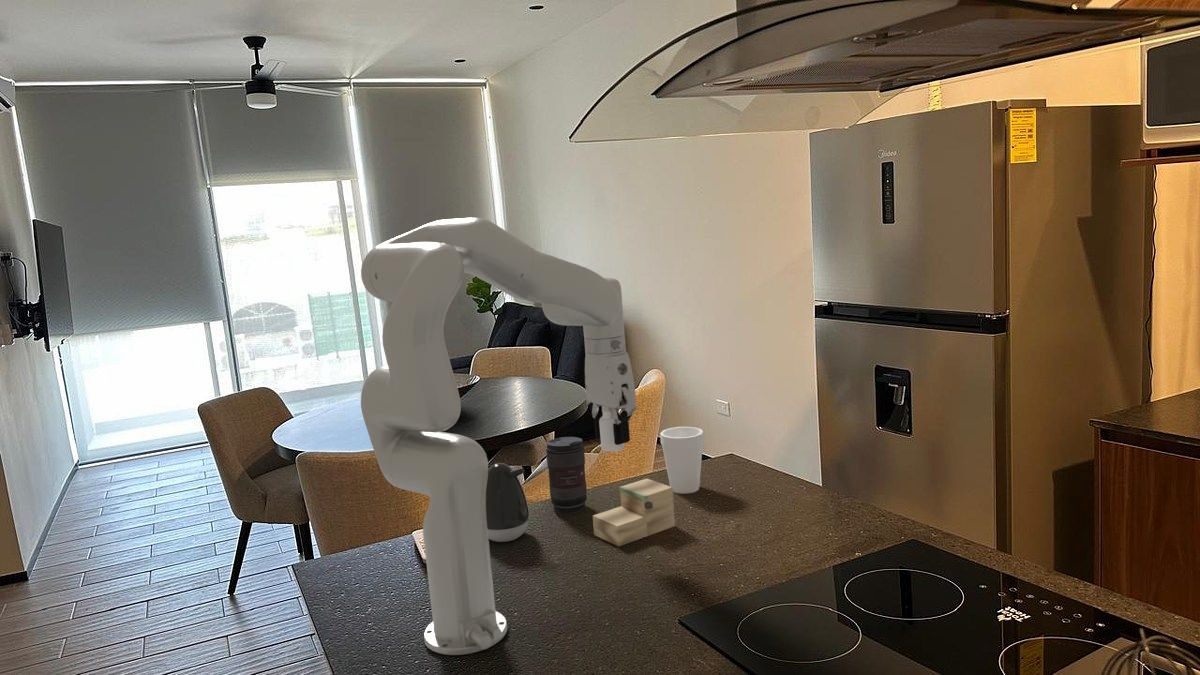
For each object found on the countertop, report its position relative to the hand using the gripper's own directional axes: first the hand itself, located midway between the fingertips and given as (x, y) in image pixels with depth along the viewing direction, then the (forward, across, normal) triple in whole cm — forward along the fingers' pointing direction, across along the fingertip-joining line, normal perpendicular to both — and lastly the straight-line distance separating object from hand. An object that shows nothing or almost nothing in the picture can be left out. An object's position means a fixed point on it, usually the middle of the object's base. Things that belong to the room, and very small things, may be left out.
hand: (612, 439), depth 157 cm
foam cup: (+21, +12, -28) cm, 37 cm away
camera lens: (+20, +22, -3) cm, 30 cm away
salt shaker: (+2, 0, 0) cm, 2 cm away
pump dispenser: (+20, +18, +15) cm, 31 cm away
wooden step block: (+20, +2, -5) cm, 21 cm away
